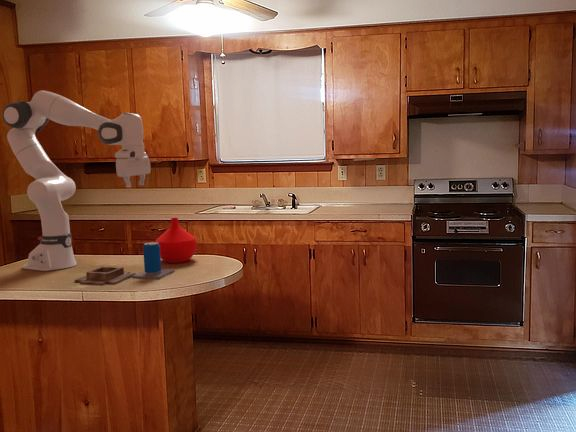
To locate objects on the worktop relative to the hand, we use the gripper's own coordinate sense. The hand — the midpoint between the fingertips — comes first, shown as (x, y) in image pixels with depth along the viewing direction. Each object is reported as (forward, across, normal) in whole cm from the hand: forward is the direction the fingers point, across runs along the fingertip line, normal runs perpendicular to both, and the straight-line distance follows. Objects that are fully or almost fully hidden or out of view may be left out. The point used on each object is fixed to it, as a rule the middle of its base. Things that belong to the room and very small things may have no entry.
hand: (135, 186), depth 233 cm
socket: (+35, +19, -4) cm, 40 cm away
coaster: (+34, +10, +12) cm, 38 cm away
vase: (+35, -15, +9) cm, 39 cm away
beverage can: (+34, +10, +12) cm, 37 cm away
